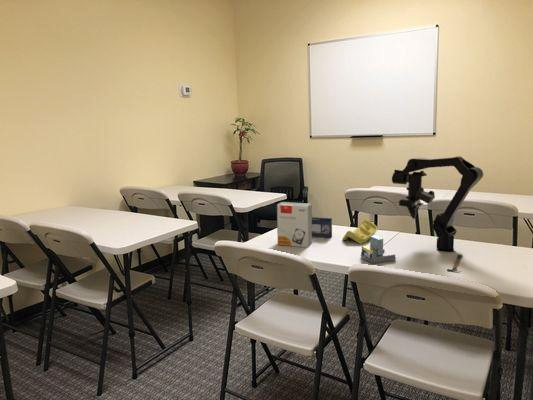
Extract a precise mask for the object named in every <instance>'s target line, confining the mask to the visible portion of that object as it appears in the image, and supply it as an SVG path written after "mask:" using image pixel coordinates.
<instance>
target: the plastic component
mask: <svg viewBox="0 0 533 400" xmlns="http://www.w3.org/2000/svg"><path fill="white" fill-rule="evenodd" d="M377 231H378V226H377V225H376V224H374V222H372V221H370V220H369V219H365V220H363V222H362V223H361V224H360V225H359V226H358V227H357V228H356V229H355V230H353V231H351V230H348V231H346V233H345V234H344V236H343V237H342V241H346V240H348V239H352V240H353V241H355V242H357V243H358V244H362V245H363V244H365V243H366V242H368V241H370V236H373V235H376V233H377Z"/></svg>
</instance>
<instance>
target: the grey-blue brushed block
mask: <svg viewBox="0 0 533 400" xmlns="http://www.w3.org/2000/svg"><path fill="white" fill-rule="evenodd" d="M369 248H371V249H373V250H375V251H377V256H383V249H384V238H382V237H380V236H378V235H376V234H374V235H373V236H370V239H369ZM364 256H366V257H368V258H370V259H371V257H372V254H371V253H369V252H367V251H366V252H364Z"/></svg>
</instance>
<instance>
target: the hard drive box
mask: <svg viewBox="0 0 533 400" xmlns="http://www.w3.org/2000/svg"><path fill="white" fill-rule="evenodd" d="M312 205H313V204H312V203H304V202H291V201H290V202H289V201H287V202H286V201H281V202H279V203H277V204H276V224H277V225H276V229H277V231H276V232H277V234H276V235H277V245H280V246H290V247H299V248H309V247H310V246H311V245H312V244H313V241H312V239H313V237H312V217H313V216H312V214H313V213H312V212H313V211H312Z"/></svg>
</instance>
